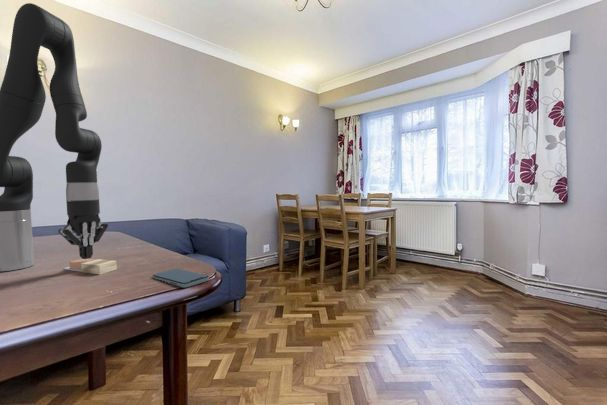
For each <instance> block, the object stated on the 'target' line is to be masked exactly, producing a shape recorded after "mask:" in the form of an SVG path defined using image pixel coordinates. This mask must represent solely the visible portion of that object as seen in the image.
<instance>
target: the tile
mask: <svg viewBox="0 0 607 405" xmlns="http://www.w3.org/2000/svg"><path fill="white" fill-rule="evenodd" d="M93 260H95V259H93V258H88V259H82V258H80V259H75V260H70V261H69V267H70V269H77V270H82V268H81V263H85V262H89V261H93Z"/></svg>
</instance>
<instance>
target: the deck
mask: <svg viewBox="0 0 607 405" xmlns="http://www.w3.org/2000/svg"><path fill="white" fill-rule="evenodd" d="M81 268H82V272H81V273H85V274H93V275H103V274H106V273H109V272H112V271H116V270H117V269H118V267H117V260H110V259H99V258H98V259H94V260H93V261H89V262H85V263H81Z"/></svg>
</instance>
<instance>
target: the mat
mask: <svg viewBox="0 0 607 405" xmlns="http://www.w3.org/2000/svg"><path fill="white" fill-rule="evenodd" d="M63 270H65V271H72V272H73V271H74V272H80V273H83V272H82V270H77V269H70V266H67V267H64V268H63Z"/></svg>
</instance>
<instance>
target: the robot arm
mask: <svg viewBox="0 0 607 405" xmlns="http://www.w3.org/2000/svg"><path fill="white" fill-rule="evenodd" d="M12 26H13V27H12V35H11V42H10V49H9V55H8V58H7V59H8V61H7V63H6V67H5V68H6V69H5V72H4V76H3V79H2V82H1V86H0V188H4V190H3V192H2V194H1V195H0V272H8V271H9V272H10V271H16V270H21V269H27V268H30V267H33V266H34V265H35V257H34V256H35V255H34V239H33V238H34V237H33V221H32V212H31V208H32V207H31V203H32V201H33V199H34V172H33V168H32V166H31V164H30V162H29V161H28V160H27V159H26V158H24V157H21V156H16V155H10V154H11V151H12V149H13V146H14V145H15V144H16V142H17V141H18V140H19V138H21V137H22V136H23V135H24V134H26V133H27V132H28V131H29V130H30V129H32V128H33V127H34V126H36V124H37V123H38V122H39V121H40V119H41V117H42V114H43V111H44V106H45V105H46V104H45V103H46V100H47V98H46V97H47V95H46V90H45V86H44V84H43V80H42V78H41V75H40V71H39V66H38V60H39V59H38V58H39V54H40V49H41V47H42V48H45V49H47V50H49V52H50V54H51V57H52V59H53V61H54V72H53V74H52V77H51V79H50V83H49V95H50V100H51V102H52V104H53V108H54V112H55V124H54V125H55V130H54V135H55V140H56V142H57V144H58V146H59V148H61V149H62V150H64V151H65V152H69V153H77V157H76V159H75V161H70V162H67V164H66V165H65V177H66V179H65V181H66V184H65V185H66V186H65V187H66V188H65V199H66V200H65V201H66V215H67V217H68V219H67V222H66V226H64V227H63V228H59V229H58V233H59V234H60V236H62V237H63V238H64V240H66V241H67V242H68V243H69V244H71V245H72V246H78V252H79V257H80V259H92V256H93V255H94V249H93V246H94V244H95V243H97V242H99V241H100V240H101V238H102V236H103V235H104V233H105V232H106V231H107V229H108V228H109V224H108V223H104V222H102V221H101V218H100V213H101V212H100V210H101V208H100V207H101V206H100V191H99V186H98V174H97V173H98V172H97V168H98V164H99V161H100V156H101V154H102V153H101V152H102V141H101V138H100V136H99V134H98V133H97V132H95V131H93V130H91V129H86V128H83V127H80V125H79V122H82V121H85V120H86V119H87V118H88V113H87V109H86V104H85V102H84V98H83V94H82V93H81V88H80V84H79V78H78V69H77V59H76V50H75V48H76V47H75V40H74V35H73V31H72V28H71V27H70V26H69V24H67V22H66V21H64V20H62V19H61V18H60V17H58V16H56V15H54V14H52V13H51V12H49V11H47V10H46V9H44V8H42V7H40V6H39V5H37V4H35V3H30V2H29V3H28V2H27V3H24V4H23V5H22V6H20V7H19V8H18V10H17V12H16V14H15V18H14V22H13V25H12Z"/></svg>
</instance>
